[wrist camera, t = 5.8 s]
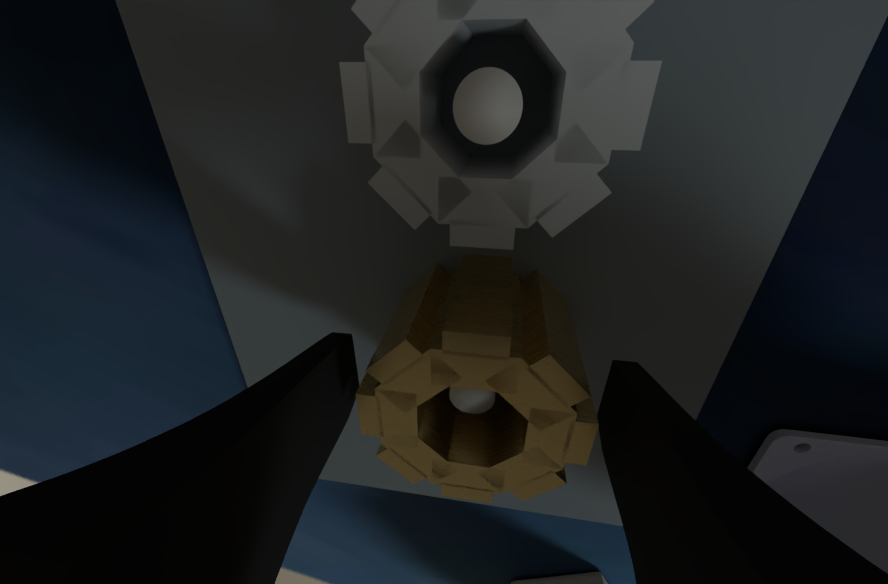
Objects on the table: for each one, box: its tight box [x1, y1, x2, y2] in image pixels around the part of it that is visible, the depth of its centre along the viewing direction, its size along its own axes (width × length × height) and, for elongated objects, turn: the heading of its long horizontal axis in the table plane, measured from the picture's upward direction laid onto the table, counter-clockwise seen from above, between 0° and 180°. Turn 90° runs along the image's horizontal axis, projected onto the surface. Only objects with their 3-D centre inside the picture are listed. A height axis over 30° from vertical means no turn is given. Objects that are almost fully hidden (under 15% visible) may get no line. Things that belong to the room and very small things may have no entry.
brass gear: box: [356, 254, 599, 504], centre depth 11 cm, size 6×6×4 cm
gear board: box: [115, 0, 888, 526], centre depth 11 cm, size 17×23×4 cm
